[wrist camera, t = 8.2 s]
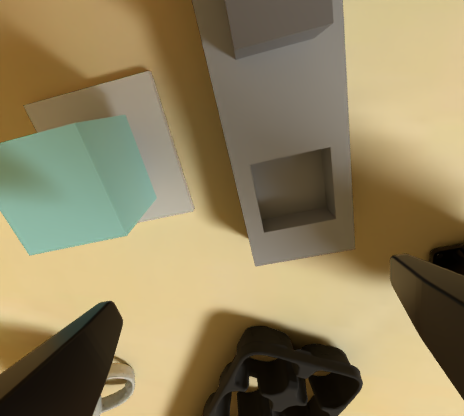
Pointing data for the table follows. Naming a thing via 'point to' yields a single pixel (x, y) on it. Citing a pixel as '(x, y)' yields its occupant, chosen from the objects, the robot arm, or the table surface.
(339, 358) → the egg carton
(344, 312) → the table surface
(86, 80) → the table surface
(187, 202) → the mat
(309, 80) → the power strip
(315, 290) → the table surface
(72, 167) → the green block
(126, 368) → the ceramic mug
